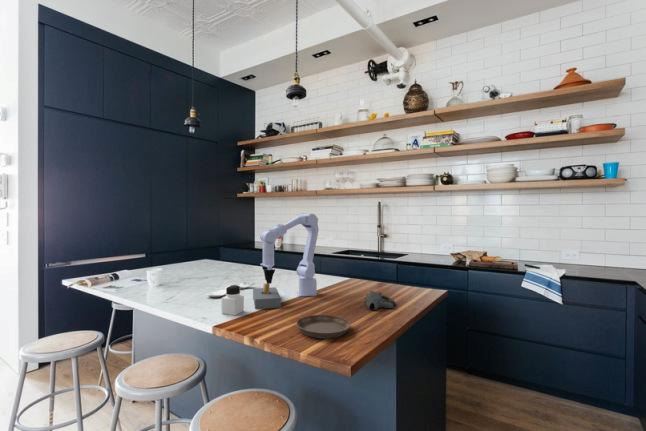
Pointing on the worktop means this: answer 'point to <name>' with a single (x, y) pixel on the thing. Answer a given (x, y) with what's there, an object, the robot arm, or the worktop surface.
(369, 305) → the grey tapered shape
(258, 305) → the hole block
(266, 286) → the peg
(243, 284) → the spoon
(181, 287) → the worktop surface
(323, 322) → the plant saucer
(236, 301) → the medicine bottle
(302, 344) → the worktop surface
